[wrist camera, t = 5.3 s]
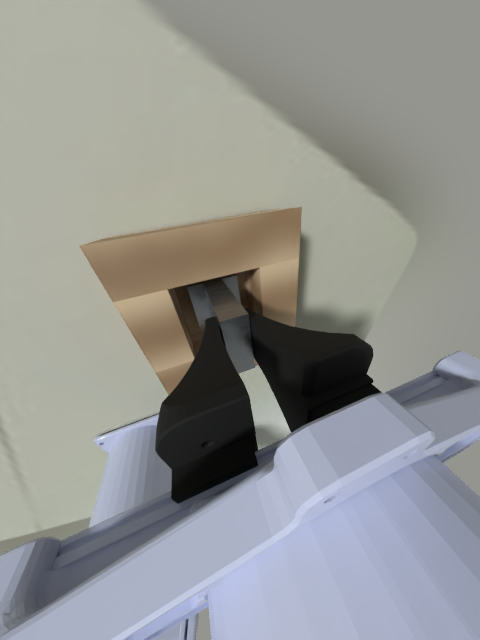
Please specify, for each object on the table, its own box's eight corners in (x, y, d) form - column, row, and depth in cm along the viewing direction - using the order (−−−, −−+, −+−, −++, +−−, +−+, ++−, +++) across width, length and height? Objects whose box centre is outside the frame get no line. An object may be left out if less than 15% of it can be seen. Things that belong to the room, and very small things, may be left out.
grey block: (239, 312, 17) (273, 361, 11) (199, 323, 16) (212, 382, 10) (233, 272, 15) (270, 307, 9) (186, 283, 14) (194, 329, 8)
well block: (274, 330, 20) (294, 352, 17) (170, 363, 18) (169, 396, 15) (271, 209, 14) (301, 207, 10) (106, 237, 11) (79, 245, 8)
